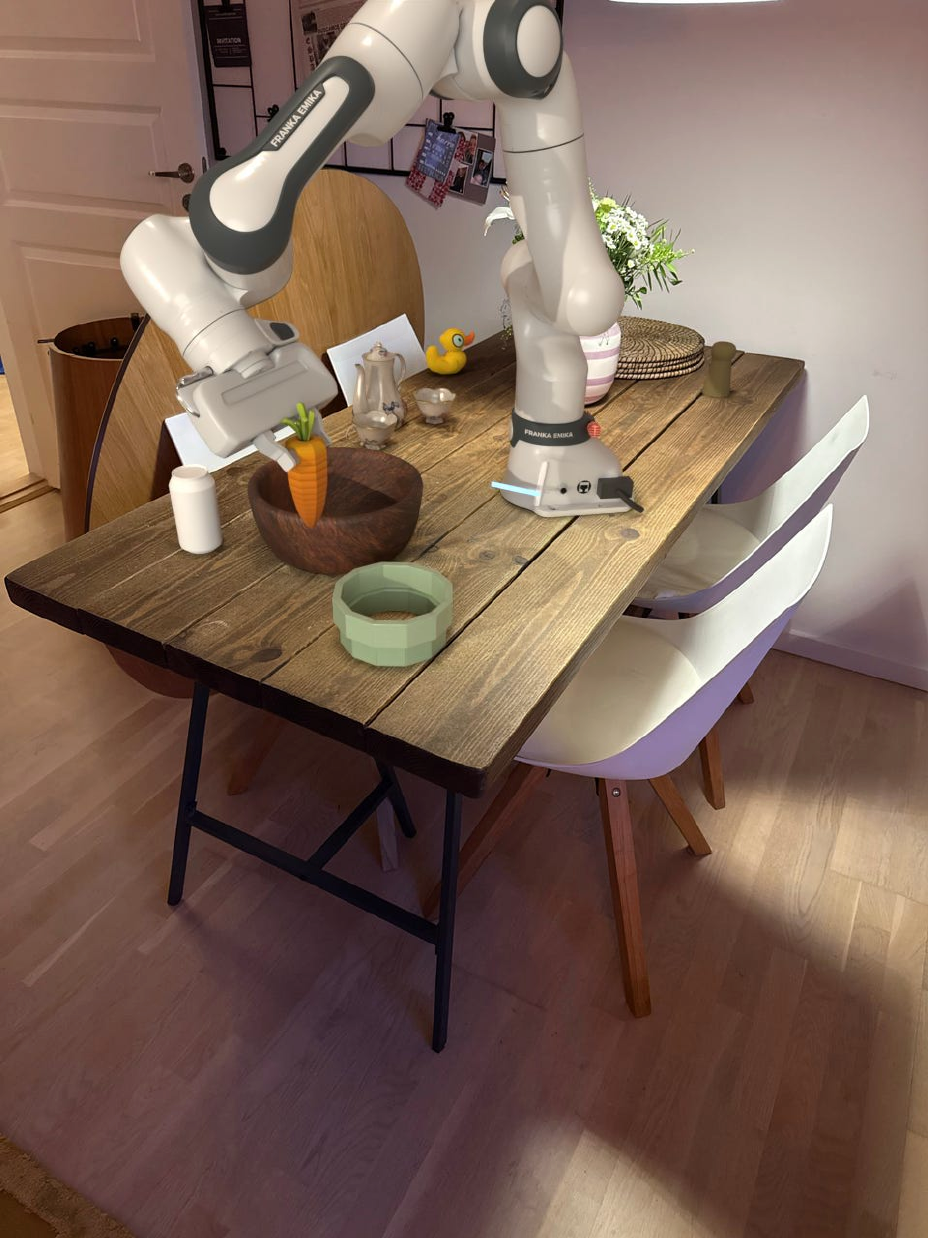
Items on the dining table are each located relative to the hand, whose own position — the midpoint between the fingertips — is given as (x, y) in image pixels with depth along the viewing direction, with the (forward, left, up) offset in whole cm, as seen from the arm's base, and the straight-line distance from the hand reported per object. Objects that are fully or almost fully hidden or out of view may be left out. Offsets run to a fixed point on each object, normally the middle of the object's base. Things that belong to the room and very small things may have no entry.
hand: (310, 457), depth 99 cm
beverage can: (+20, -20, -23) cm, 37 cm away
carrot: (+1, 0, -9) cm, 9 cm away
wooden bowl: (0, -22, -23) cm, 32 cm away
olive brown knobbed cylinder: (-75, -94, -23) cm, 123 cm away
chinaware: (-5, -69, -23) cm, 73 cm away
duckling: (-16, -103, -23) cm, 107 cm away
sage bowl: (-9, +2, -23) cm, 25 cm away
